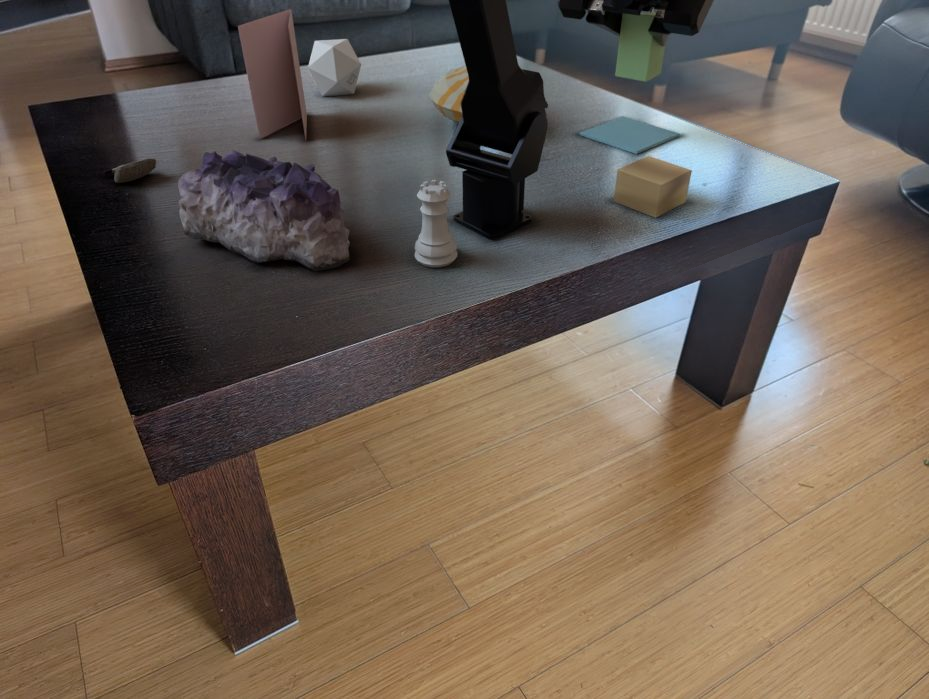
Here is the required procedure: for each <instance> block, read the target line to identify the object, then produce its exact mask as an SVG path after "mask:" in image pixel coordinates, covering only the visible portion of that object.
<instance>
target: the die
mask: <svg viewBox="0 0 929 699" xmlns="http://www.w3.org/2000/svg"><path fill="white" fill-rule="evenodd" d="M361 67H362V63H361V61H360V59H359V57H358V55H357V54H356V52H355V49H354V48H353V46H352V44H351V43H350V41H349V39H348V38H338V39H337V38H336V39H322V40H321V39H320V40H314V42H313V46H312V49H311V54H310V58H309V61H308V65H307V70H308V73H309V74H310V76H311V78H312V80H313V83H314V84H315V86H316V88H317V90H318V92H319V93H320V95H321V97H333V96H349V95H355V92H356V88H357V83H358V80H359V75H360V71H361Z"/></svg>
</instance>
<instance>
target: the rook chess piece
mask: <svg viewBox="0 0 929 699" xmlns="http://www.w3.org/2000/svg"><path fill="white" fill-rule="evenodd" d="M437 182H438V181H437V179H431V184H429V181H427V180H425V181H423V182H422V183H421V184H420V186H419V187H420V188H419V191H418V192H417V193H416V197H417V198H418V199H419V201H420V202H421V206H420V208H419V211H420V213H421V215H422V222H421V230H420V233H419V234H418V239H417V240H415V244H414V258H415V260H416V261H417V262H418V263H419V264H420V265H422V266H424V267H428V268H433V269H434V268H438V269H439V268H443V267H447V266H450V265H451V264H452V263H453V262H454V261H455V260H456V258H458V251H457V246H458V245H457V241H456V240H455V238H454V237H453V234H452V233H451V231H450V228H449V222H448V217H447V215H448V214H447V213H448V212H449V208H450V207H449V206H448V205H447V201H448V200H449V199H450V198H451V192H450V190H448V188H447V183H446V182H445V181H443V180H440V181H439V182H438V184H437Z"/></svg>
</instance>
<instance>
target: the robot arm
mask: <svg viewBox="0 0 929 699" xmlns="http://www.w3.org/2000/svg"><path fill="white" fill-rule="evenodd" d="M714 1H715V0H557V6H558V9H559V11H560V13H561V15H562V18H566V19H574V20H583V18H584V17H585V21H586V23H587V24H589V25H594V26H596V27H597V28H600V29H602V30H605V31H607V32H609V33H611V34H613V35H614V36H617V37H618V38H620V31H621V22H622V14H623V13H624V14H631V15H638V16H639V15H640V13H641V12H642V13H651V12H652V10H653V8H654V12H655V13H656V14H655V17H654V19H653V21H652V23H651V25H650V27H649V29H648V32H649V33H650V34H651V36H652V37H653V38H654V39H655V40H656V42H657V43H658V44H659V45H661V46H665V47H666V45H665V44H667V41H668V39H669V36H670V35H672V34H675V35H681V36H689V37H693V36H695V35H697V34H698V33H700V31H701V28H702V27H703V25H704V22H705V20H706V19H707V15H708V14H709V12H710V9H711V8H712V5H713V3H714ZM448 4H449V7H450V11H451V15H452V18H453V23H454V26H455V31H456V34H457V37H458V42H459V45H460V49H461V54H462V57H463V60H464V64H465V65H464V66H466V69H467V72H468V77H469V82H468V84H467V87H466V90H465V92H464V95H463V98H462V100H461V109H462V118H461V120H460V122H458V124H457V127H456V129H455V130H454V132H453V134H452V137H451V139H450V141H449V143H448V145H447V147H446V150H445V154H446V157H447V161H448V164H449V166H450V167H452V168H458V169H463V171H462V172H461V174H462V175H461V176H462V178H461V182H462V211H460V212H458V213H456V214H454V215H453V216H452V218H453V221H454V222H456V223H458V224H460V225H462V226H464V227H466V228H468V229H470V230H472V231H474V232H476V233H478V234H479V235H481V236H483V237H486V238H488V239H492V240H493V239H496V238H499V237H501V236H503V235H505V234H507V233H509V232H511V231H513V230H516V229H518V228H520V227H522V226H525V225H527V224H529V223H531V222H532V220H533V218H532V217H533V216H532V215H529V214H528V213H525V212H523V211H524V207H525V191H526V190H525V189H526V187H525V186H526V179H527V178H528V177H530V176H532V175H534V174H535V173H537V172H538V170H539V167H540V162H541V158H542V154H543V150H544V146H545V142H546V138H547V133H548V127H549V126H548V124H549V123H548V118H547V111H546V109H548V108H549V104H548V102H547V100H546V97H545V88H544V79H543V77H542V74H541V73H540V72H539V71H536V70H535V71H534V70H530V69H524V68H522V67H521V66H520V64H519V61H518V55H517V50H516V46H515V41H514V36H513V31H512V30H513V29H512V25H511V21H510V16H509V10H508V6H507V5H508V4H507V0H448ZM586 13H587V14H586ZM481 147H484V148H488V149H490V150H491V149H492V150H496V151H498V152H501V153H506V154H509V155H511V157H509V156H506V155H502V154H499V153H495V152H492V151H487V150H484V149H481Z"/></svg>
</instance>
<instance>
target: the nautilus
mask: <svg viewBox="0 0 929 699" xmlns="http://www.w3.org/2000/svg"><path fill="white" fill-rule="evenodd" d="M468 82H469V77H468V72H467V69H466V65H463V66H459V67H456V68H452V69H450V70H449V71H448V72H446V73H444V74H443V75H442V76H441V77H440V79H438V80H437V82H436V84H435V86H434V87H433V88H432V89H431V91H430V92H429V96H428V97H429V99H430V101H431V103H432V104H433V105H434V107H435V108H436V109H437V111H438V112H440V113H441V115H442V116H443V117H444V118H447V119H448V120H450V121H453V122H454V121H455V122H456V123H459V122H460V120H461V118H462V109H461V100H462V98H463V95H464V92H465V90H466V87H467V84H468Z"/></svg>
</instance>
